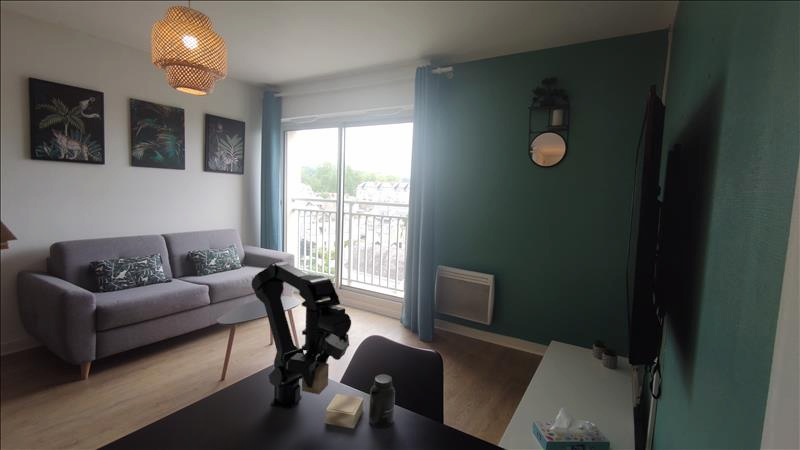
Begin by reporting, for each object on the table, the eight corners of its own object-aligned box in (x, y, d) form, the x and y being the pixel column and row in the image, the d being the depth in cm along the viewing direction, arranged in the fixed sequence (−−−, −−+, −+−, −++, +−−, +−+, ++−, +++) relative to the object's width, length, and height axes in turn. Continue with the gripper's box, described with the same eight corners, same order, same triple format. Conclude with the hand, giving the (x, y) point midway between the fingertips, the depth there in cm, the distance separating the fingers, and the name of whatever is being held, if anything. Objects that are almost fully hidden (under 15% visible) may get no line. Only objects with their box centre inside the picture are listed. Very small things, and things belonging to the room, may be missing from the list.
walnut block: (301, 390, 94) (302, 368, 94) (311, 381, 99) (312, 360, 98) (319, 394, 93) (319, 372, 92) (328, 385, 98) (328, 363, 97)
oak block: (325, 424, 96) (325, 409, 96) (336, 407, 104) (336, 393, 104) (353, 429, 95) (354, 414, 94) (362, 411, 102) (363, 397, 102)
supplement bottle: (390, 430, 94) (392, 386, 93) (365, 425, 96) (367, 382, 95) (396, 414, 101) (398, 374, 100) (372, 410, 103) (374, 370, 101)
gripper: (328, 344, 83) (326, 408, 85) (358, 318, 101) (356, 371, 103) (286, 336, 86) (284, 398, 88) (323, 313, 104) (321, 364, 106)
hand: (315, 382), depth 96 cm, fingers closed on walnut block, 5 cm apart
